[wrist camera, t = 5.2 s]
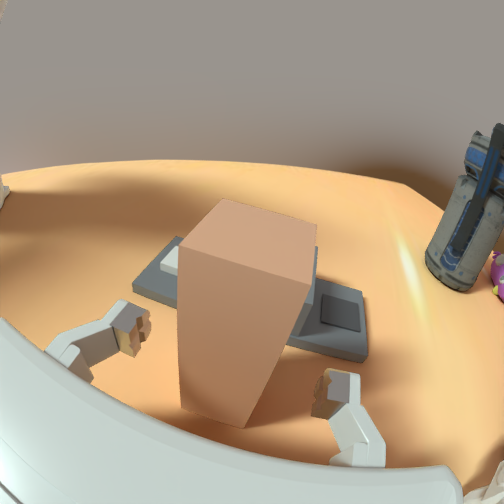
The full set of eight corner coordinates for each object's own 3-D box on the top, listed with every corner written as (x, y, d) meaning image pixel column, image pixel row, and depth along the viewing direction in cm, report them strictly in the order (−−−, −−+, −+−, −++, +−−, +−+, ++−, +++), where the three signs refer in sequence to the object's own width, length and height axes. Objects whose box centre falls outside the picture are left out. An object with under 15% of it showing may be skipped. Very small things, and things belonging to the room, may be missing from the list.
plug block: (181, 407, 15) (178, 244, 8) (202, 361, 18) (222, 198, 11) (242, 429, 14) (311, 285, 8) (257, 379, 17) (317, 224, 11)
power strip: (133, 291, 22) (128, 248, 19) (175, 244, 29) (177, 206, 26) (362, 363, 20) (389, 327, 17) (358, 298, 27) (376, 263, 24)
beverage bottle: (405, 265, 35) (468, 100, 21) (434, 250, 42) (483, 124, 28) (456, 309, 28) (536, 136, 14) (474, 283, 35) (532, 153, 21)
